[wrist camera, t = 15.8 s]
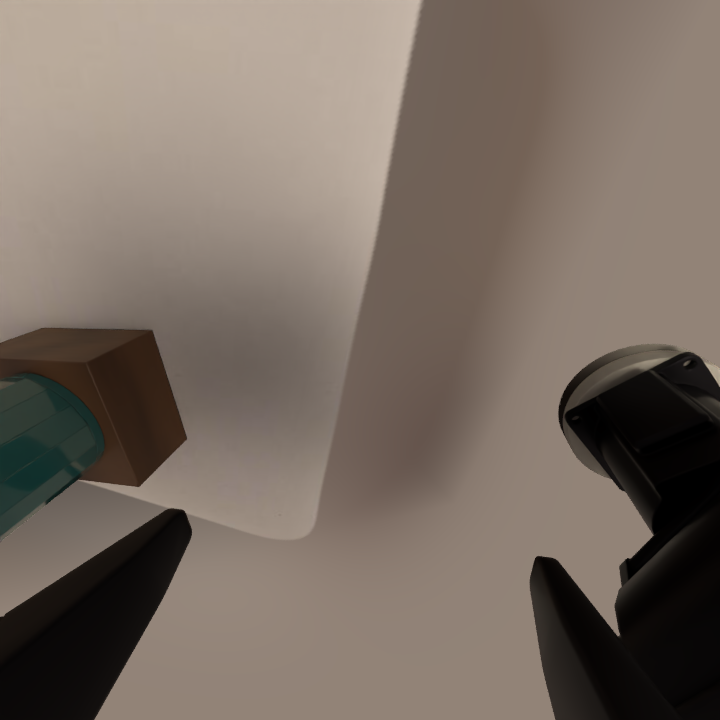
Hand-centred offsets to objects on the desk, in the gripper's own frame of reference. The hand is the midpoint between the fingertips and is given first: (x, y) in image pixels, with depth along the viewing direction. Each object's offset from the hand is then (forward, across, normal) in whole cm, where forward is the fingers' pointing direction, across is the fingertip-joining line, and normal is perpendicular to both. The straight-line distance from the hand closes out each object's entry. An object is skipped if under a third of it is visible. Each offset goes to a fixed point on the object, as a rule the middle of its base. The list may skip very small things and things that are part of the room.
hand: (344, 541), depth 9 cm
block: (+13, +21, +4) cm, 25 cm away
